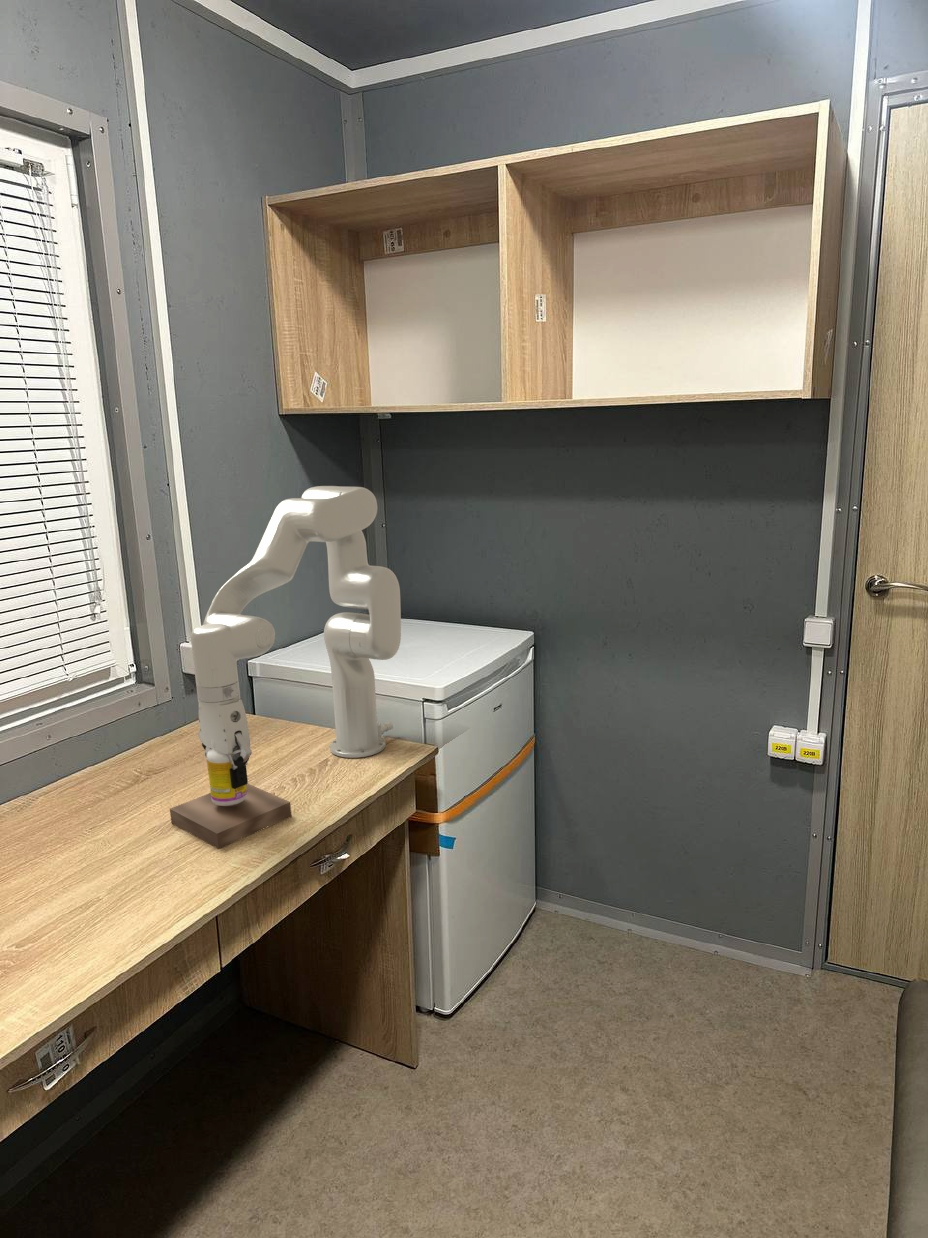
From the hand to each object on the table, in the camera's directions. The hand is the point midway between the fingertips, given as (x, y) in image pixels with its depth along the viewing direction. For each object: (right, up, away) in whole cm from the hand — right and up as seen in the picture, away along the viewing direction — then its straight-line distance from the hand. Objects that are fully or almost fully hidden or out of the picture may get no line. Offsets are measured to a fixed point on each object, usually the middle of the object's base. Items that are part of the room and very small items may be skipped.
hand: (228, 780), depth 164 cm
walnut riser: (0, -8, +2) cm, 8 cm away
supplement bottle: (0, -4, +1) cm, 4 cm away
